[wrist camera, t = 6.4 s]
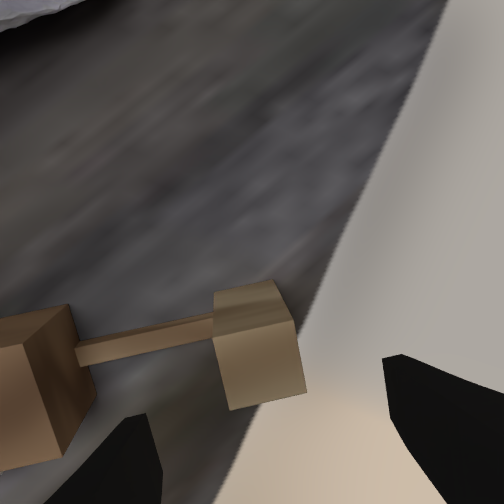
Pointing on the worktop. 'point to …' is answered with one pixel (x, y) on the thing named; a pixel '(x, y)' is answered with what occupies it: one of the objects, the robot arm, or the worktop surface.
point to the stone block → (29, 10)
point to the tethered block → (127, 344)
